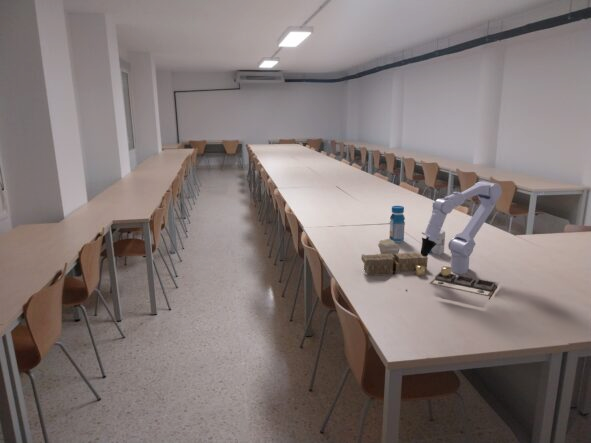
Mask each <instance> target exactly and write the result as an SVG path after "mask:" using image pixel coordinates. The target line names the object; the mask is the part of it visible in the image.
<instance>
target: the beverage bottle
mask: <svg viewBox="0 0 591 443" xmlns="http://www.w3.org/2000/svg"><path fill="white" fill-rule="evenodd" d="M404 212H405V207H404V206H403V205H393V206H391V215H390V218H389V219H390V220H389V238H388V239H391V240H393V241H394V242H395V243H402V242H404V240H405V225H406V221H405V220H406V218H405V215H404Z"/></svg>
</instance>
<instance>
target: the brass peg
mask: <svg viewBox="0 0 591 443" xmlns="http://www.w3.org/2000/svg"><path fill="white" fill-rule="evenodd" d="M414 271H415V272H414V273H415V274H414V275H416V276H418V277H424V276H425V275H426V274H425V273H426V272H425V271H426V270H425V266H423V265H416V268H415V270H414Z"/></svg>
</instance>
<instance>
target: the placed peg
mask: <svg viewBox="0 0 591 443" xmlns="http://www.w3.org/2000/svg"><path fill="white" fill-rule="evenodd" d="M440 272H441V277H443V278H448V279H450V277H451V274H452V271H451V266H445V265H444V266H441V268H440Z"/></svg>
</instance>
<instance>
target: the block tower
mask: <svg viewBox="0 0 591 443" xmlns="http://www.w3.org/2000/svg"><path fill="white" fill-rule="evenodd" d="M428 259H429V258H428V256H427V257H425V256H422V254H421V252H417V251H416V252H398V254H397V253H395V255H392V254H381V253H378V254H377V253H376V254H365V253H364V254H363V253H362V254H361V261H362V262H363V271H364V270H365V271H364V272H365V274H366V273H367V274H366V275H367V276H382V275H383V276H384V275H385V276H386V275H393V273H394V274H395V275H397V274H398V273H399V272H411V271H413V272H414V271H415V269H416V265H423V266H425V271H427V269H428V268H427V267H428Z"/></svg>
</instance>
